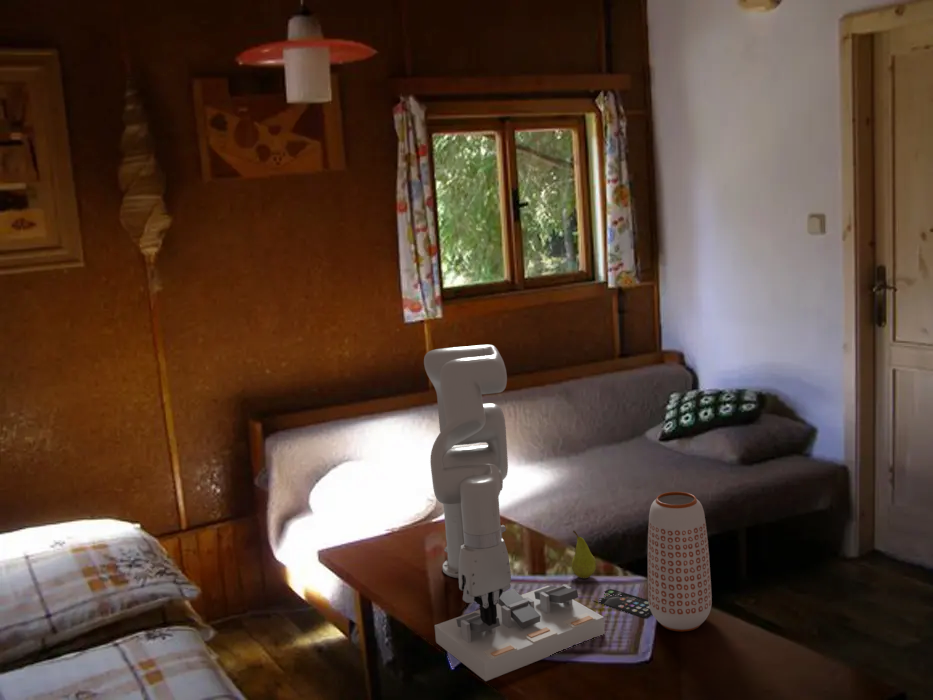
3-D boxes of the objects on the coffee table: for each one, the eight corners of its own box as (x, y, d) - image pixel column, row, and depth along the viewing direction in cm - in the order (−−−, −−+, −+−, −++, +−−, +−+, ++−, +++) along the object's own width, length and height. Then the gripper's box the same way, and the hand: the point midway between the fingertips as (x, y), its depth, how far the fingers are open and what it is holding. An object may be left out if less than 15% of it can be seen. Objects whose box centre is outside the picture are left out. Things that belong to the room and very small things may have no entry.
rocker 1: (457, 626, 208) (455, 616, 208) (476, 620, 210) (474, 610, 210) (481, 632, 199) (479, 622, 199) (500, 625, 202) (498, 615, 202)
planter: (713, 637, 205) (710, 509, 200) (648, 636, 208) (643, 509, 202) (711, 608, 218) (707, 487, 212) (649, 607, 221) (644, 487, 215)
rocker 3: (535, 599, 218) (533, 589, 218) (552, 593, 220) (550, 583, 220) (561, 603, 209) (559, 593, 209) (578, 597, 211) (576, 587, 211)
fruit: (600, 579, 237) (598, 532, 234) (579, 584, 234) (576, 537, 232) (589, 570, 242) (586, 524, 239) (568, 575, 240) (565, 529, 237)
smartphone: (609, 588, 231) (664, 604, 221) (609, 590, 231) (664, 607, 221) (590, 600, 226) (645, 617, 215) (590, 602, 226) (645, 620, 216)
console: (436, 642, 212) (433, 608, 211) (549, 601, 227) (547, 569, 225) (485, 681, 195) (482, 644, 194) (604, 634, 210) (602, 599, 208)
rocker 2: (495, 600, 213) (496, 592, 212) (513, 594, 215) (514, 586, 214) (521, 628, 205) (522, 620, 204) (539, 621, 207) (540, 613, 206)
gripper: (503, 522, 204) (509, 605, 207) (440, 541, 196) (448, 627, 200) (524, 532, 197) (530, 618, 201) (460, 552, 190) (467, 640, 193)
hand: (489, 622), depth 200 cm, fingers closed
